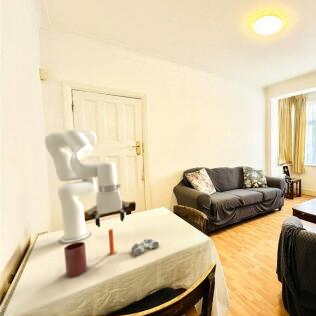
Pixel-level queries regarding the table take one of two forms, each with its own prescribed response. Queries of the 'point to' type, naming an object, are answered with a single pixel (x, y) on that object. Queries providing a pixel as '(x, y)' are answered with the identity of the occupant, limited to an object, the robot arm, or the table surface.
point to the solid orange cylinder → (111, 241)
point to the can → (75, 259)
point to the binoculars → (147, 243)
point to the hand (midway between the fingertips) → (110, 223)
